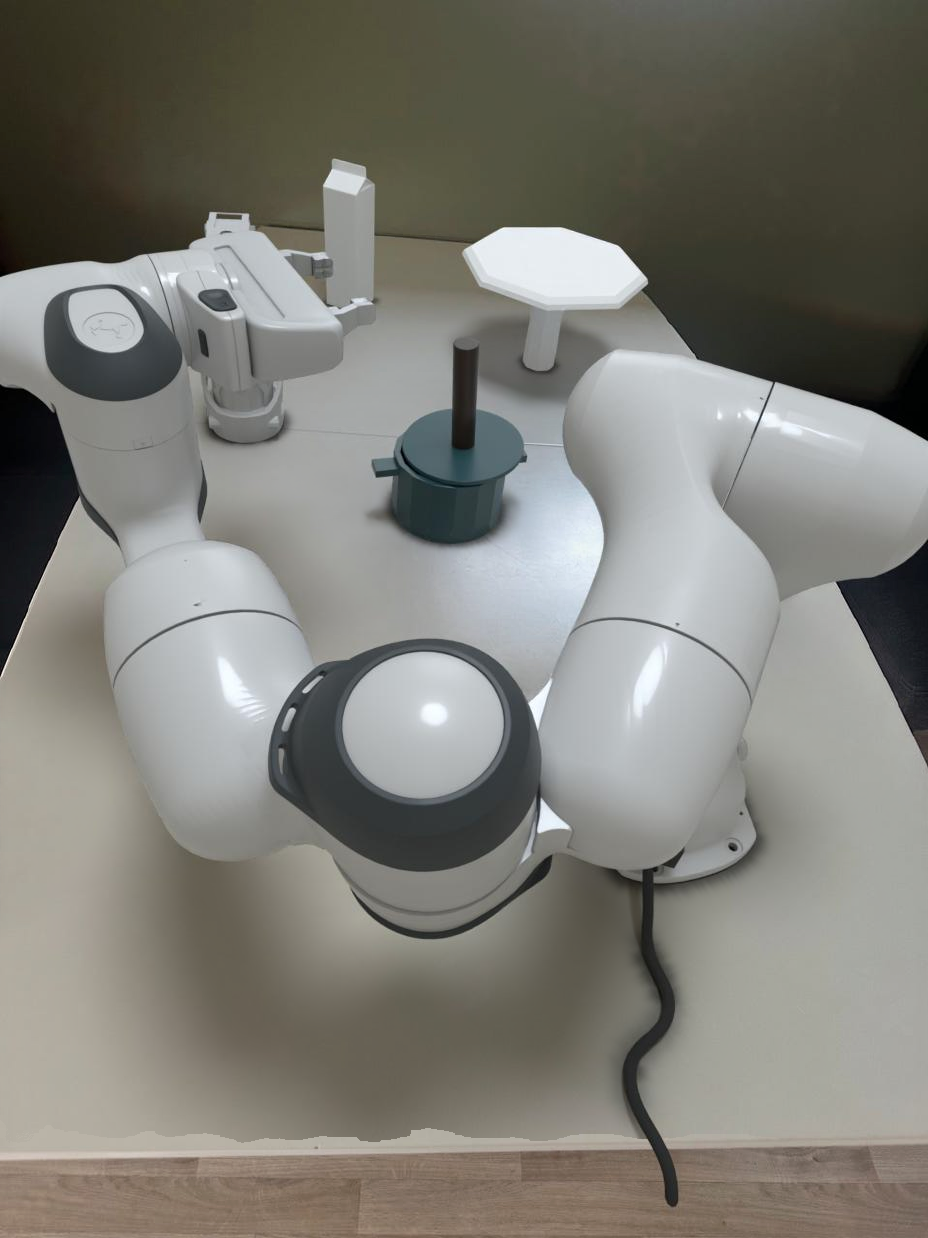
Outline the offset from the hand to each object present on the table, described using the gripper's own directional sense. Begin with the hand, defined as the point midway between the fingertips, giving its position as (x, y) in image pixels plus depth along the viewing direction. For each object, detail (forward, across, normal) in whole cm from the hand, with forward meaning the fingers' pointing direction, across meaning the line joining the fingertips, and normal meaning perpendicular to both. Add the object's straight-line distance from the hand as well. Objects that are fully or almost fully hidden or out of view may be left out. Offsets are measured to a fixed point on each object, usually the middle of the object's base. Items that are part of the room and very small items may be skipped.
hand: (350, 285), depth 72 cm
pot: (+14, -3, -32) cm, 35 cm away
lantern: (-2, -31, -32) cm, 45 cm away
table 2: (+45, -30, -32) cm, 63 cm away
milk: (+25, -59, -32) cm, 72 cm away
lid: (+16, -3, -23) cm, 28 cm away
